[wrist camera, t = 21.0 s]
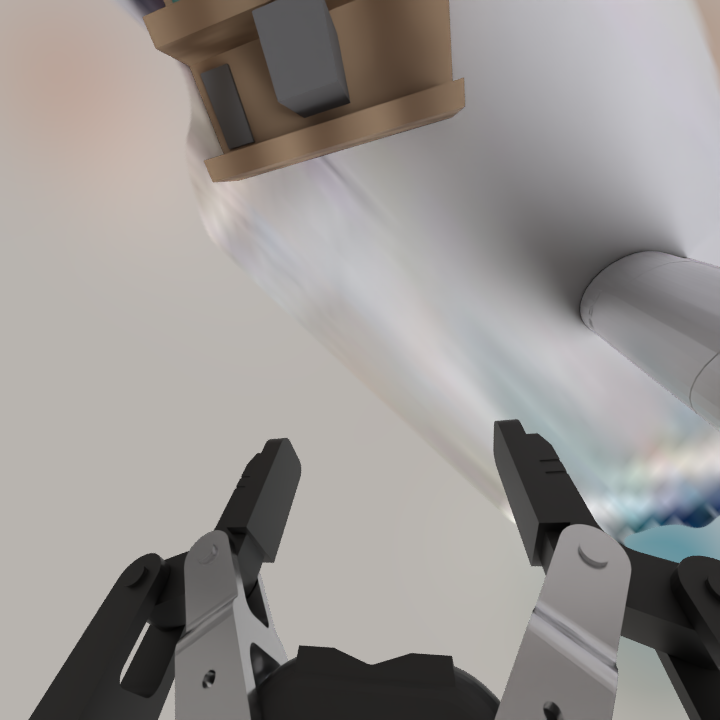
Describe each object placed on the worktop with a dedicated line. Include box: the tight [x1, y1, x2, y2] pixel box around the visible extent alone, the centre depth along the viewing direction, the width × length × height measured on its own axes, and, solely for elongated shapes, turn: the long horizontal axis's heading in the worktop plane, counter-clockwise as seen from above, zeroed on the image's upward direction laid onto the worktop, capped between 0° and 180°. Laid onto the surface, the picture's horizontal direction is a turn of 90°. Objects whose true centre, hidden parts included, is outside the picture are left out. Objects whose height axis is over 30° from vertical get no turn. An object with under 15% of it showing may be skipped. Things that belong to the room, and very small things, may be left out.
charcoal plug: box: [252, 0, 350, 118], centre depth 20 cm, size 4×4×7 cm
